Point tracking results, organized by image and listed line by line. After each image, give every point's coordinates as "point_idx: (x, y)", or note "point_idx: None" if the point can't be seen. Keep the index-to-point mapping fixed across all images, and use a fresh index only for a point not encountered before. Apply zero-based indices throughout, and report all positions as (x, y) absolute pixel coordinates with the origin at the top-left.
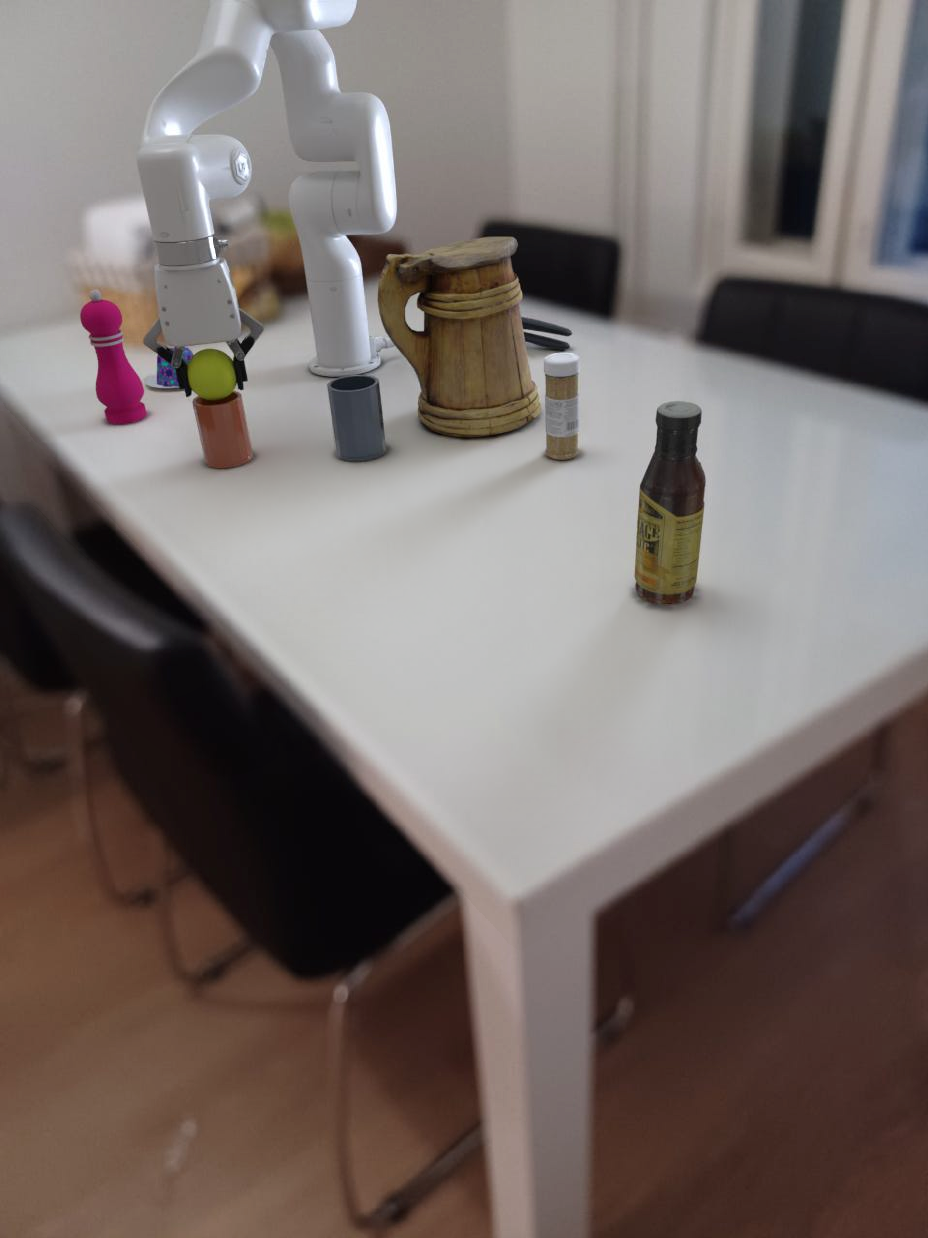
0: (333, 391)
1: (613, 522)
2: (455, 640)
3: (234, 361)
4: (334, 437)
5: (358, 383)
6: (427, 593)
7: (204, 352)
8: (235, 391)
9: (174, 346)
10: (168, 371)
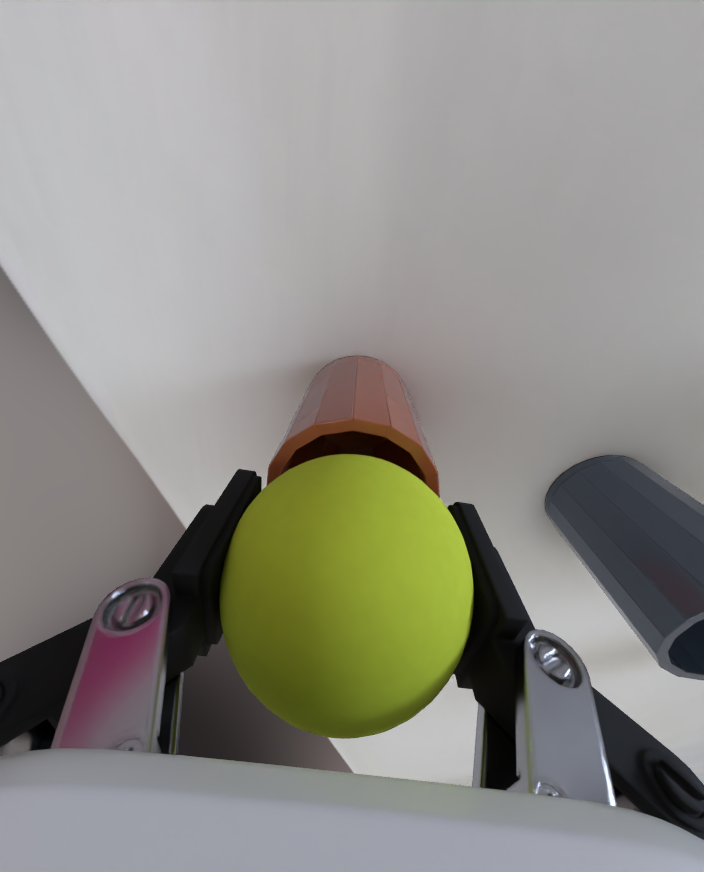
0: (653, 653)
1: (650, 718)
2: (434, 753)
3: (463, 669)
4: (568, 521)
5: None
6: (447, 727)
7: (316, 732)
8: (429, 467)
9: (66, 715)
10: None
